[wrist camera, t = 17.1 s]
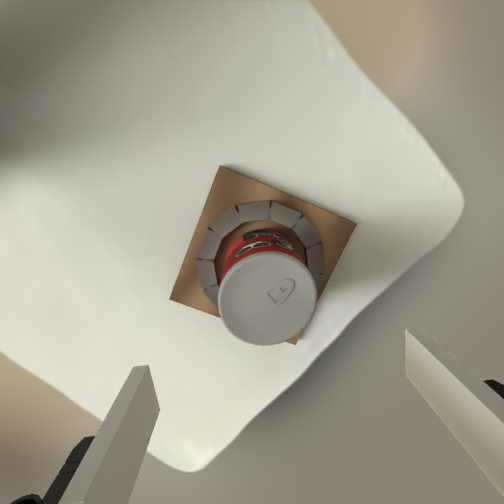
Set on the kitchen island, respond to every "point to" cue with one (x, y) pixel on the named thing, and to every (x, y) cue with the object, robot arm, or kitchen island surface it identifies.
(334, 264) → the socket board
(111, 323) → the kitchen island surface
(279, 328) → the canned food
